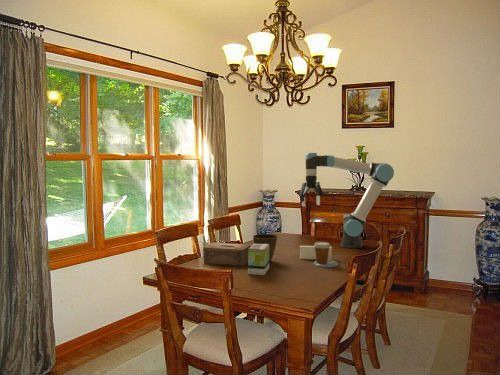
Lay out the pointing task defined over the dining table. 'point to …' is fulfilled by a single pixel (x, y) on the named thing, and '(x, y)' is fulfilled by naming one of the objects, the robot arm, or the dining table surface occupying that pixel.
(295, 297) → the dining table surface
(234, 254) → the tissue box cover
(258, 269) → the tea box
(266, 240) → the plant pot
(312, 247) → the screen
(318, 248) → the disposable coffee cup
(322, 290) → the dining table surface
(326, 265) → the plate
